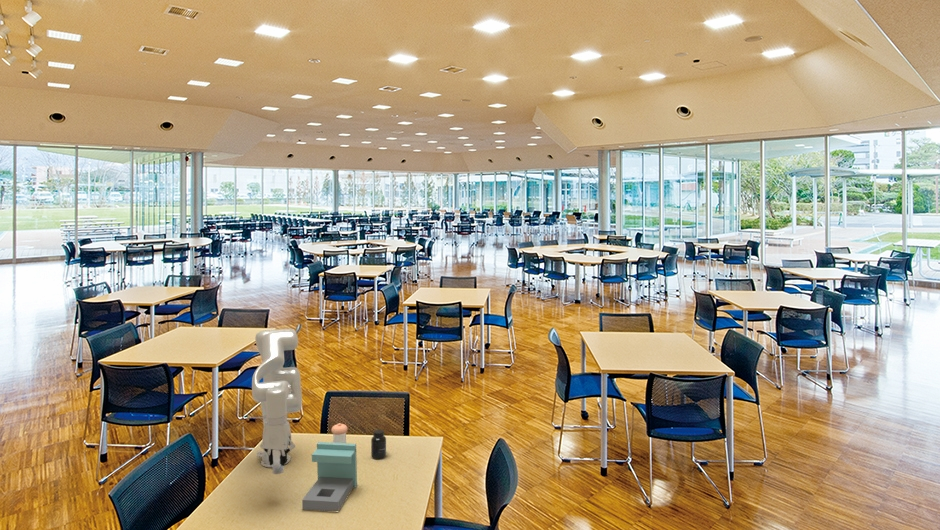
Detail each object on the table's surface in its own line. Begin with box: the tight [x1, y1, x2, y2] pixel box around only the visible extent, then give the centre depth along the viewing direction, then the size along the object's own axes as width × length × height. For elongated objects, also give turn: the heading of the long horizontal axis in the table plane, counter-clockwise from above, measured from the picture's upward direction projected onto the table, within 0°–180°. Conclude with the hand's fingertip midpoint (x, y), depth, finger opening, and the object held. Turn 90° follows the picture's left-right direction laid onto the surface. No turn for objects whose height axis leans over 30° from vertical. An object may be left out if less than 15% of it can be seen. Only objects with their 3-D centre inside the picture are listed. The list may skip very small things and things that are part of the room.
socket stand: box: [301, 441, 358, 512], centre depth 212 cm, size 16×20×18 cm
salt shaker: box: [331, 422, 348, 443], centre depth 239 cm, size 7×7×19 cm
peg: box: [272, 449, 285, 475], centre depth 209 cm, size 4×4×12 cm
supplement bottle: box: [370, 429, 387, 460], centre depth 248 cm, size 7×7×12 cm
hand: (278, 463), depth 209 cm, fingers closed on peg, 4 cm apart
